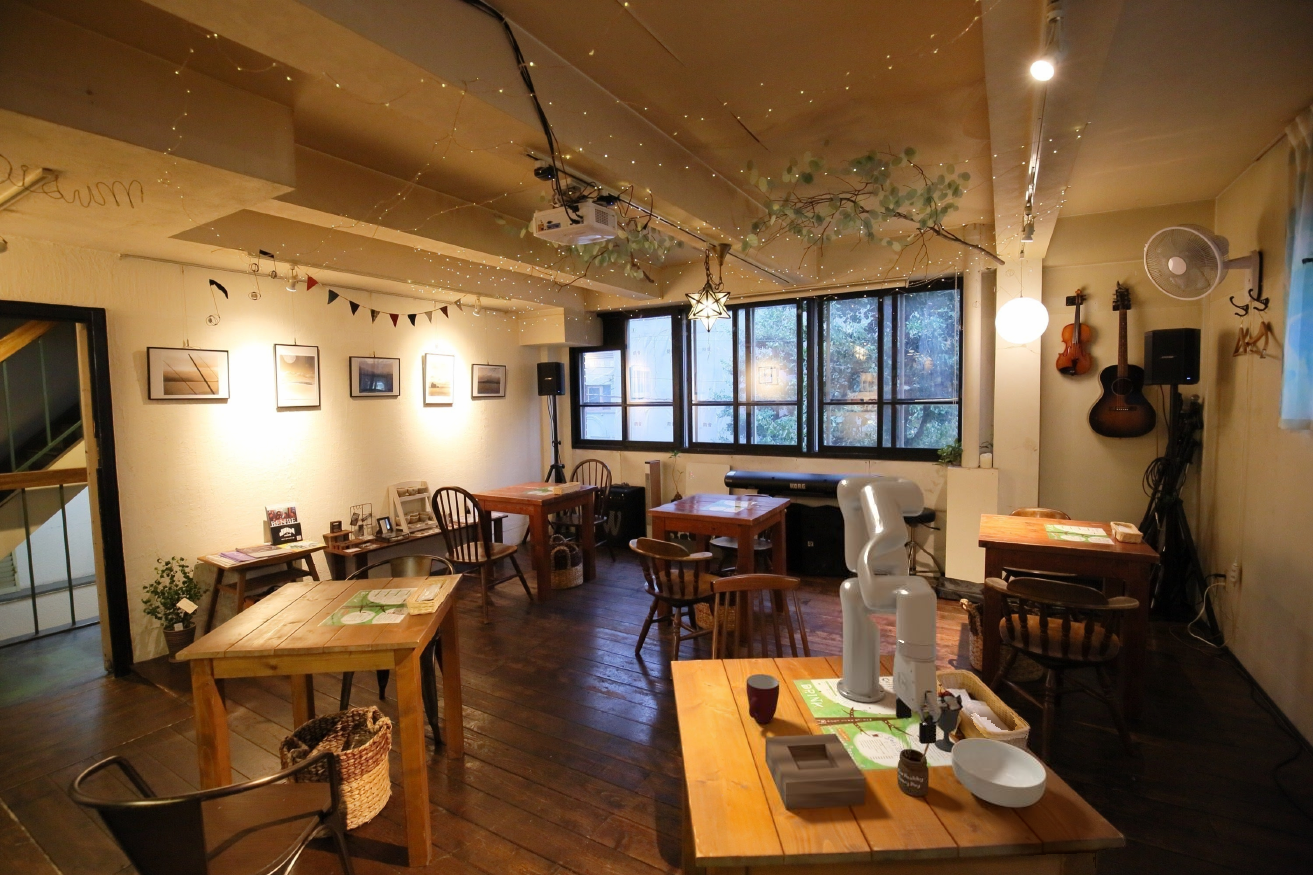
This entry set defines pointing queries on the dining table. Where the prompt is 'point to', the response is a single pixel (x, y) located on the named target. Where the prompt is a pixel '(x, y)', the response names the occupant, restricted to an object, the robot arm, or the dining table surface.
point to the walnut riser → (814, 771)
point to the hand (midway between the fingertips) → (915, 729)
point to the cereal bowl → (998, 772)
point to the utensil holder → (913, 771)
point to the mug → (762, 697)
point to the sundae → (947, 717)
